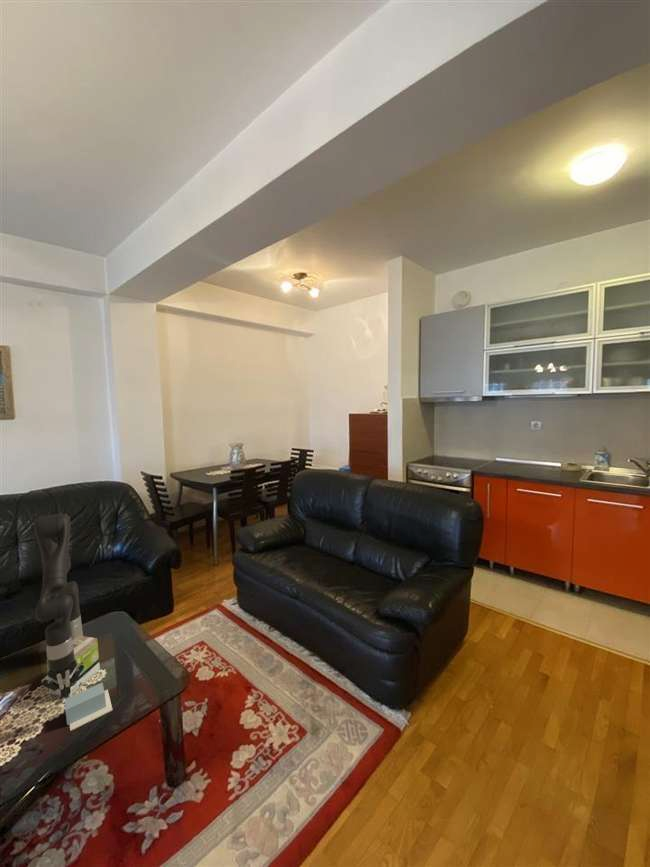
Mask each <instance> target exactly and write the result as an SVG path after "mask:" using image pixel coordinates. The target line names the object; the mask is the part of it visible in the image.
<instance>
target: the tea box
mask: <svg viewBox="0 0 650 867" xmlns="http://www.w3.org/2000/svg"><path fill="white" fill-rule="evenodd" d="M72 641H73V649H74V657H75V660H76V661H77V663H81V662H83V663H84V669H83V670H82V672H81V673H80V675H79V676H78V678H77V680H76V681H75V682H74V683H72V684H71V685H70V690H71V693H70V694H69V696H68V697H71V696H73V694H74V693H75V692H76V691H78V689H80V688H81V687H83V685H84V684H85V683H86V682H87V681H89V680H90V679H91V678H92V677H93V676H94V675H95V674H97V672H98V671H100V669H101V666H100V657H99V656H100V655H99V644H98V643H99V642H98V638H97V637H90V636H84V635H83V636H77V637H76V638H75V639H74V640H72ZM46 670H47V673H48V671H49V666H48V658H46ZM75 671H76V667H75V669H74V671H73V672H72V674H71V675H70V678H71V677H72V675H73V674H74V672H75ZM50 680H51V681H53V682H56V683H57V684H58V681H56V680H54V679H52V678H50ZM63 682H64V685H65V678H64V679H63ZM48 690H49V694H51V695H57V696H61V691H60V689H57V690H56V691H54V690H52V689H49V688H48ZM68 697H67V698H68Z"/></svg>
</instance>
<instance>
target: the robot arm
mask: <svg viewBox="0 0 650 867" xmlns="http://www.w3.org/2000/svg"><path fill="white" fill-rule="evenodd" d="M34 532H35V533H34V534H35V537H36V541H37V544H38V546H39V549H40V550H39V551H40V555H41V561H42V562H41V563H42V569H43V570H42V589H41V593H40V597H39V600H38V602H37V605H36V608H35V613H34V614H35V615H34V616H35V618H36V620H37V621H38V622H40V623H45V622H49V621H52V620H54V622H52V623H50V624H49V625H47V627H46V628H45V630H44V633H45V634H44V635H45V641H46V659H48V666H49V671H48V672H47V675H46V676H44V677H42V678H41V685H42V686H43V687H45V688H48V690H49V689H52V690H54V691H56V690H57V689H60V691H61V695H60V697H61V698H64V699H66V698H68V696H69V694H70V693H71V690H70V685H71V684H72V683H74V682H75V681H76V680H77V678H78V676H79V675H80V673H81V672H82V670H83V669H84V663H83V662H81V663H77V661H76V660H75V657H74V649H73V641H72V640H74V639H75V638H76V637H77V636H84V633H83V624H82V616H81V608H80V601H79V586H78V584H77V581H74V580H73V581H68V580H67V578H68V577H67V575H68V573H69V572H70V569H71V568H72V567H71V566H72V564H71V557H70V553H69V547H70V546H69V545H70V540H71V539H70V538H71V519H70V516H69V514H67V513H56V514H51V515H43V516H40V517H38V518H36V520H35V522H34ZM54 539H59V541H58V544H57V543H55V542H54V541H53V540H54ZM75 667H76V671H75V672H74V674H73V675H72V677H71V678H70V675H71V674H72V672H73V671H74V669H75ZM50 678H52V679H54V680H56V681H58V684H57V683H56V682H53V681H51V680H50ZM64 678H65V685H64V682H63V679H64Z"/></svg>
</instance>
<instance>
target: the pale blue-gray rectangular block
mask: <svg viewBox="0 0 650 867" xmlns="http://www.w3.org/2000/svg"><path fill="white" fill-rule="evenodd" d="M104 691H105V688H104V683H103V682H101V683H98V684H96V685H93V686H91V687H89V688H87V689H85V690H82V691H80V692H78V693H75V694H74V695H73V694H72V695H71V696H70V697H65V698H64V708H65V709H64V710H65V717H66V719H65V720H66V726H70V724H71V723H74V722H76V721H78V720H80V719H82V718H84V717H86V716H88V715H90V714H92V713H94V712H96V711H99V710H101V709H103V708H105V707H106V700H105V692H104Z"/></svg>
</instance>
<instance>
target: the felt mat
mask: <svg viewBox="0 0 650 867" xmlns="http://www.w3.org/2000/svg"><path fill="white" fill-rule="evenodd" d="M104 692H105V700H106V707H105V708H103V709H101V710H99V711H96V712H94V713H92V714H90V715H88V716H86V717H84V718H82V719H80V720H78V721H76V722H74V723H71V724H69V731H70V732H71V731H73V730H76V729H77V728H79V727H82V726H83V725H85V724H88V723H90V722H92V721H93V720H96V719H99V718H100V717H103V715H106V714H108V713H111V712H112V711H113V706H112V703H111V701H112V700H111V698H110V697H111V696H110V694H109V690H108V689H106V690H105V689H104Z"/></svg>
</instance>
